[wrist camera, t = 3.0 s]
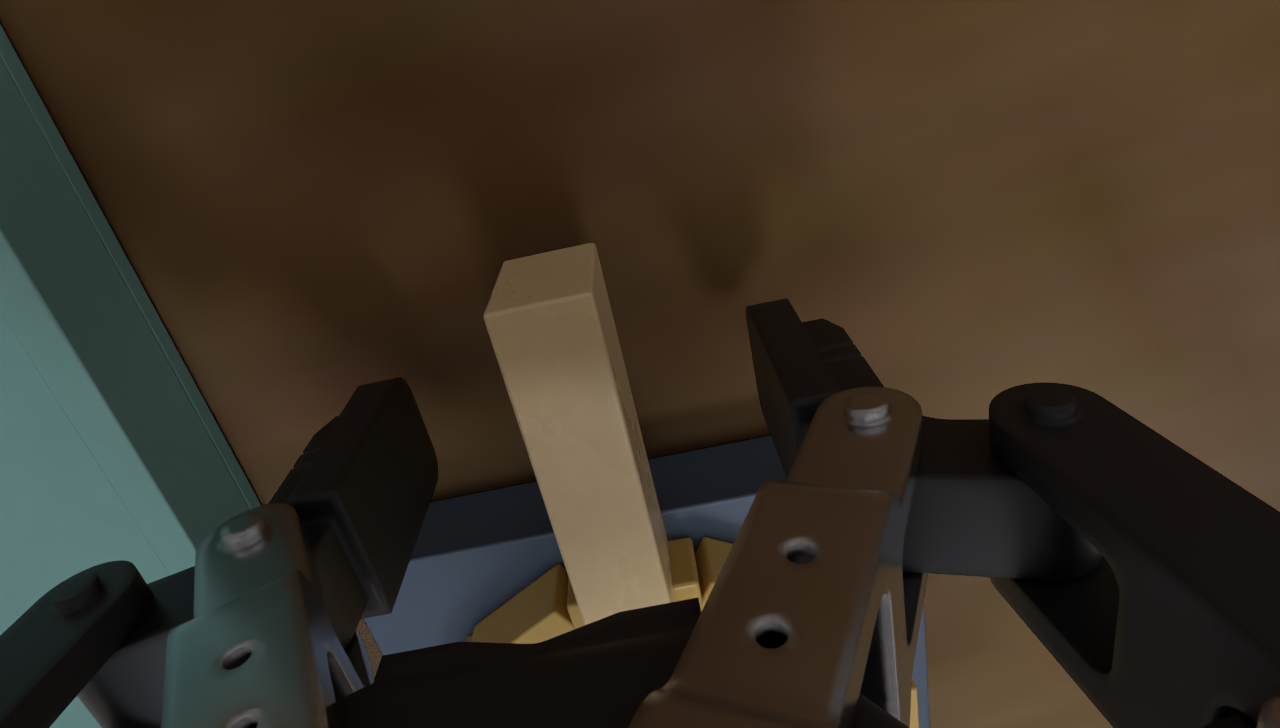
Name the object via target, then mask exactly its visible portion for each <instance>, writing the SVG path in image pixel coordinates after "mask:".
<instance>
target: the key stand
mask: <svg viewBox="0 0 1280 728" xmlns="http://www.w3.org/2000/svg"><path fill="white" fill-rule="evenodd" d="M648 462H649V466H650V470H651V475H652V479H653V483H654V487H655V491H656V495H657V499H658V503H659V507H660V511H661V516H662V520H663V524H664V528H665V532H666V536H667V540H668V541H669V540H674V539H680V538H685V537H690V538H691V540H692V541H693V545H694V550H695V553H696V551H697V549H698V547H699V544H700V542H701V540H702V538H703V537H708V538H712V539H717V540H721V541H725V542H729V543H733V544H734V541H735V539H736V537H737V535H738V533H739V531H740V529H741V526H742V524H743V522H744V520H745V518H746V516H747V514H748V511H749V509H750V507H751V505H752V503H753V501H754V499H755V496H756V494H757V492H758V490H759V488H760V486H761V485H762V484H763V482H764V481H766V480H777V481H787V478H786V476H785V473H784V470H783V468H782V465H781V462H780V459H779V457H778V454H777V451H776V448H775V446H774V443H773V440H772V438H771V436H766V437H761V438H756V439H751V440H746V441H741V442H736V443H731V444H726V445H720V446H715V447H710V448H705V449H700V450H695V451H690V452H685V453H680V454H675V455H670V456H664V457H659V458H654V459H649V460H648ZM557 564H560V565H561V566H563V567H564V568H565V565H564V561H563V558H562V555H561V552H560V549H559V546H558V543H557V540H556V537H555V534H554V531H553V528H552V525H551V522H550V519H549V516H548V513H547V510H546V507H545V504H544V501H543V498H542V495H541V492H540V489H539V486H538V482H532V483H527V484H522V485H517V486H512V487H506V488H501V489H496V490H491V491H486V492H481V493H476V494H471V495H466V496H461V497H455V498H450V499H445V500H440V501H435V502H430V504H429V507H428V510H427V513H426V516H425V519H424V521H423V524H422V527H421V530H420V533H419V536H418V539H417V541H416V544H415V547H414V550H413V553H412V556H411V559H410V562H409V564H408V567H407V570H406V573H405V576H404V579H403V582H402V584H401V587H400V590H399V593H398V596H397V599H396V602H395V605H394V607H393V610H392V613H391V614H385V615H380V616H375V617H369V618H364V620H365V622H366V624H367V626H368V628H369V630H370V632H371V634H372V636H373V638H374V640H375V642H376V644H377V646H378V648H379V650H380V652H381V654H382V656H383V655H388V654H394V653H399V652H405V651H410V650H416V649H421V648H427V647H432V646H437V645H443V644H448V643H454V642H466V639H467V637H468V636H469V635H472V634H473V629H474V627H475V625H477V624H478V623H479V622H481V621H482V620H483V619H485V618H486V617H487V616H489V615H490V614H491V613H493V612H494V611H495V610H497V609H498V608H499V607H501V606H502V605H503V604H505V603H506V602H507V601H509V600H510V599H511V598H513V597H514V596H515V595H517V594H518V593H519V592H521V591H522V590H523V589H525V588H526V587H527V586H529V585H530V584H531V583H533V582H534V581H535V580H537V579H538V578H539V577H541V576H542V575H543V574H545V573H546V572H547V571H549V570H550V569H551V568H553V567H554V566H555V565H557ZM565 569H566V568H565ZM912 679H913V681H914V683H915V685H916V688H917V698H918V715H919V728H930V720H929V700H928V679H927V658H926V638H925V617H924V603H923V609H922V615H921V621H920V628H919V634H918V640H917V646H916V653H915V659H914V665H913V673H912Z"/></svg>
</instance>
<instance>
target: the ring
mask: <svg viewBox="0 0 1280 728" xmlns="http://www.w3.org/2000/svg"><path fill="white" fill-rule="evenodd" d="M483 318H484V321H485V325H486V328H487V331H488V334H489V337H490V340H491V343H492V346H493V349H494V352H495V355H496V358H497V361H498V364H499V367H500V370H501V373H502V376H503V379H504V382H505V385H506V388H507V391H508V394H509V397H510V400H511V404H512V407H513V410H514V413H515V416H516V419H517V422H518V425H519V428H520V431H521V434H522V437H523V440H524V443H525V446H526V449H527V452H528V455H529V458H530V461H531V464H532V467H533V470H534V473H535V476H536V479H537V482H538V486H539V489H540V492H541V495H542V498H543V501H544V504H545V507H546V510H547V513H548V516H549V519H550V522H551V525H552V528H553V531H554V534H555V537H556V540H557V543H558V546H559V549H560V552H561V555H562V558H563V561H564V565H565V568H566V569H565V568H564V567H563V566H561V565H560V564H557V565H555V566H554V567H553V568H551V569H550V570H549V571H547V572H546V573H545V574H543V575H542V576H541V577H539V578H538V579H537V580H535V581H534V582H533V583H531V584H530V585H529V586H527V587H526V588H525V589H523V590H522V591H521V592H519V593H518V594H517V595H515V596H514V597H513V598H511V599H510V600H509V601H507V602H506V603H505V604H503V605H502V606H501V607H499V608H498V609H497V610H495V611H494V612H493V613H491V614H490V615H489V616H487V617H486V618H485V619H483V620H482V621H481V622H479V623H478V624H477V625H475V627H474V629H473V634H472V635H469V636H468V637H467V639H466V642H486V643H516V644H535V643H540V642H543V641H546V640H549V639H551V638H554V637H556V636H559V635H561V634H564V633H567V632H569V631H572V630H574V629H577V628H579V627H582V626H585V625H587V624H590V623H592V622H595V621H598V620H600V619H603V618H605V617H608V616H610V615H613V614H616V613H618V612H622V611H628V610H633V609H639V608H644V607H649V606H655V605H660V604H666V603H671V602H677V601H682V600H688V599H693V598H698V599H699V603H700V607H701V612H702V610H703V608H704V606H705V604H706V601H707V599H708V597H709V595H710V593H711V591H712V589H713V586H714V584H715V582H716V580H717V578H718V576H719V574H720V571H721V569H722V567H723V565H724V563H725V561H726V559H727V556H728V554H729V552H730V550H731V548H732V546H733V543H729V542H725V541H721V540H717V539H712V538H708V537H703V538H702V540H701V542H700V544H699V547H698V549H697V551H696V553H695V550H694V545H693V541H692V540H691V538H690V537H685V538H680V539H674V540H669V541H668V540H667V536H666V532H665V528H664V524H663V520H662V516H661V511H660V507H659V503H658V499H657V495H656V491H655V487H654V483H653V479H652V475H651V470H650V466H649V462H648V458H647V454H646V450H645V446H644V442H643V438H642V433H641V429H640V425H639V421H638V417H637V413H636V409H635V405H634V401H633V397H632V392H631V388H630V384H629V380H628V376H627V372H626V368H625V364H624V360H623V355H622V351H621V347H620V343H619V339H618V335H617V331H616V327H615V323H614V319H613V314H612V310H611V306H610V302H609V298H608V294H607V290H606V286H605V282H604V278H603V273H602V269H601V265H600V261H599V257H598V253H597V249H596V245H595V244H594V243H587V244H582V245H578V246H573V247H568V248H564V249H559V250H554V251H550V252H545V253H540V254H536V255H531V256H526V257H522V258H517V259H512V260H508V261H505V262H504V263H503V265H502V268H501V271H500V273H499V276H498V278H497V281H496V284H495V286H494V289H493V291H492V294H491V297H490V299H489V302H488V305H487V307H486V310H485V312H484V317H483ZM909 728H919V715H918V698H917V688H916V685H915V683H914V681H913V679H912V684H911V712H910V727H909Z"/></svg>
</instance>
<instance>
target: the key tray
mask: <svg viewBox="0 0 1280 728" xmlns="http://www.w3.org/2000/svg"><path fill="white" fill-rule="evenodd" d="M258 506H261V504H260V502H259V500H258V498H257V497H256V495H255V493H254V491H253V489H252V487H251V486H250V484H249V482H248V480H247V478H246V476H245V474H244V473H243V471H242V469H241V467H240V465H239V463H238V462H237V460H236V458H235V456H234V454H233V452H232V450H231V449H230V447H229V445H228V443H227V441H226V439H225V438H224V436H223V434H222V432H221V430H220V428H219V427H218V425H217V423H216V421H215V419H214V417H213V415H212V414H211V412H210V410H209V408H208V406H207V404H206V403H205V401H204V399H203V397H202V395H201V393H200V391H199V390H198V388H197V386H196V384H195V382H194V380H193V379H192V377H191V375H190V373H189V371H188V369H187V367H186V366H185V364H184V362H183V360H182V358H181V356H180V355H179V353H178V351H177V349H176V347H175V345H174V344H173V342H172V340H171V338H170V336H169V334H168V332H167V331H166V329H165V327H164V325H163V323H162V321H161V320H160V318H159V316H158V314H157V312H156V310H155V308H154V307H153V305H152V303H151V301H150V299H149V297H148V296H147V294H146V292H145V290H144V288H143V286H142V284H141V283H140V281H139V279H138V277H137V275H136V273H135V272H134V270H133V268H132V266H131V264H130V262H129V260H128V259H127V257H126V255H125V253H124V251H123V249H122V248H121V246H120V244H119V242H118V240H117V238H116V237H115V235H114V233H113V231H112V229H111V227H110V225H109V224H108V222H107V220H106V218H105V216H104V214H103V213H102V211H101V209H100V207H99V205H98V203H97V201H96V200H95V198H94V196H93V194H92V192H91V190H90V189H89V187H88V185H87V183H86V181H85V179H84V177H83V176H82V174H81V172H80V170H79V168H78V166H77V165H76V163H75V161H74V159H73V157H72V155H71V154H70V152H69V150H68V148H67V146H66V144H65V142H64V141H63V139H62V137H61V135H60V133H59V131H58V130H57V128H56V126H55V124H54V122H53V120H52V118H51V117H50V115H49V113H48V111H47V109H46V107H45V106H44V104H43V102H42V100H41V98H40V96H39V94H38V93H37V91H36V89H35V87H34V85H33V83H32V82H31V80H30V78H29V76H28V74H27V72H26V71H25V69H24V67H23V65H22V63H21V61H20V59H19V58H18V56H17V54H16V52H15V50H14V48H13V47H12V45H11V43H10V41H9V39H8V37H7V35H6V34H5V32H4V30H3V28H2V26H1V24H0V635H1V634H2V633H3V632H5V631H6V630H7V629H8V628H9V627H10V626H11V625H12V624H13V623H14V622H15V621H16V620H17V619H18V618H19V617H20V616H22V615H23V614H24V613H25V612H26V611H27V610H28V609H29V608H30V607H31V606H32V605H33V604H34V603H35V602H36V601H37V600H39V599H40V598H41V597H42V596H43V595H44V594H46V593H47V592H48V591H50V590H51V589H52V588H54V587H55V586H57V585H58V584H60V583H61V582H63V581H65V580H66V579H68V578H70V577H71V576H73V575H75V574H77V573H79V572H81V571H84V570H86V569H88V568H91V567H93V566H96V565H99V564H102V563H106V562H111V561H119V560H124V561H129V562H131V563H133V564H134V565H135V567H136V568H137V570H138V571H139V573H140V574H141V576H142V577H143V579H144V580H145V582H146V583H147V584H149V583H151V582H154V581H157V580H159V579H162V578H164V577H167V576H170V575H172V574H175V573H177V572H180V571H183V570H185V569H188V568H190V567H193V566H195V554H196V551H197V549H198V547H199V545H200V544H201V542H202V541H203V540H204V539H205V538H206V536H207V535H209V534H210V533H211V532H212V531H213V530H214V529H216V528H217V527H218V526H219V525H221V524H222V523H224V522H225V521H227V520H229V519H230V518H232V517H234V516H236V515H238V514H240V513H242V512H244V511H247V510H249V509H252V508H255V507H258ZM49 728H102V727H101V726H100V725H99V723H98V722H97V721H96V719H95V718H94V717H93V716H92V714H91V713H90V712H89V711H88V709H87V708H86V707H85V706H84V704H83V703H82V702H81V700H80V699H79V698H78V697H77V696H76V697H75V699H74V700H73V701H72V702H71V703H70V704H69V705H68V707H67V708H66V709H65V710H64V711H63V712H62V714H61V715H60V716H59V717H58V718H57V719H56V720H55V722H54V723H53V724H52V725H51V726H50V727H49Z"/></svg>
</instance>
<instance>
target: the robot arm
mask: <svg viewBox="0 0 1280 728" xmlns="http://www.w3.org/2000/svg"><path fill="white" fill-rule="evenodd" d="M746 319H747V326H748V332H749V338H750V345H751V351H752V358H753V364H754V371H755V377H756V383H757V389H758V394H759V399H760V404H761V408H762V412H763V415H764V418H765V421H766V424H767V427H768V429H769V432H770V435H771V438H772V440H773V443H774V446H775V448H776V451H777V454H778V457H779V459H780V462H781V465H782V468H783V470H784V473H785V476H786V478H787V481H777V480H766V481H764V482H763V484H762V485H761V486H760V488H759V490H758V492H757V494H756V496H755V499H754V501H753V503H752V505H751V507H750V509H749V511H748V514H747V516H746V518H745V520H744V522H743V524H742V526H741V529H740V531H739V533H738V535H737V537H736V539H735V541H734V544H733V546H732V548H731V550H730V552H729V554H728V556H727V559H726V561H725V563H724V565H723V567H722V569H721V571H720V574H719V576H718V578H717V580H716V582H715V584H714V586H713V589H712V591H711V593H710V595H709V597H708V599H707V601H706V604H705V606H704V608H703V610H702V612H701V607H700V603H699V599H698V598H693V599H688V600H682V601H677V602H671V603H666V604H660V605H655V606H649V607H644V608H639V609H633V610H628V611H622V612H618V613H616V614H613V615H610V616H608V617H605V618H603V619H600V620H598V621H595V622H592V623H590V624H587V625H585V626H582V627H579V628H577V629H574V630H572V631H569V632H567V633H564V634H561V635H559V636H556V637H554V638H551V639H549V640H546V641H543V642H540V643H535V644H516V643H486V642H454V643H448V644H443V645H437V646H432V647H427V648H421V649H416V650H410V651H405V652H399V653H394V654H388V655H383V656H382V659H381V662H380V665H379V667H378V670H377V673H376V676H375V679H374V676H373V672H372V669H371V665H370V662H369V658H368V655H367V651H366V647H365V645H364V643H363V641H362V639H361V637H360V635H359V633H358V631H357V629H356V628H357V626H358V623H359V621H360V619H364V618H369V617H375V616H380V615H385V614H391V613H392V610H393V607H394V605H395V602H396V599H397V596H398V593H399V590H400V587H401V584H402V582H403V579H404V576H405V573H406V570H407V567H408V564H409V562H410V559H411V556H412V553H413V550H414V547H415V544H416V541H417V539H418V536H419V533H420V530H421V527H422V524H423V521H424V519H425V516H426V513H427V510H428V507H429V504H430V501H431V499H432V496H433V493H434V490H435V487H436V484H437V480H438V463H437V458H436V453H435V450H434V447H433V445H432V442H431V440H430V437H429V434H428V432H427V429H426V427H425V424H424V422H423V419H422V417H421V414H420V412H419V409H418V407H417V404H416V401H415V399H414V396H413V394H412V391H411V389H410V387H409V385H408V384H407V382H406V381H405V380H404V379H403V378H401V377H398V378H393V379H388V380H384V381H379V382H374V383H369V384H364V385H360V386H358V388H357V389H356V390H355V392H354V394H353V395H352V397H351V398H350V400H349V402H348V403H347V405H346V406H345V408H344V409H343V411H342V413H341V414H340V416H337V417H335V418H334V419H333V420H331V421H330V422H329V423H328V424H327V425H325V426H324V427H323V428H322V429H321V430H319V431H318V432H317V433H316V434H315V435H314V436H313V438H312V439H311V441H310V442H309V444H308V445H307V447H306V448H305V450H304V451H303V453H304V455H301V456H300V457H299V459H298V460H297V462H296V463H295V465H294V469H292V470H291V471H290V472H289V474H288V475H287V477H286V478H285V480H284V481H283V483H282V484H281V486H280V487H279V489H278V490H277V492H276V493H275V495H274V496H273V498H272V499H271V501H270V502H269V504H266V505H261V506H258V507H255V508H252V509H249V510H247V511H244V512H242V513H240V514H238V515H236V516H234V517H232V518H230V519H229V520H227V521H225V522H224V523H222V524H221V525H219V526H218V527H217V528H216V529H214V530H213V531H212V532H211V533H210V534H209V535H207V536H206V538H205V539H204V540H203V541H202V542H201V544H200V545H199V547H198V549H197V551H196V554H195V566H193V567H190V568H188V569H185V570H183V571H180V572H177V573H175V574H172V575H170V576H167V577H164V578H162V579H159V580H157V581H154V582H151V583H149V584H147V583H146V582H145V580H144V579H143V577H142V576H141V574H140V573H139V571H138V570H137V568H136V567H135V565H134V564H133V563H131V562H129V561H124V560H119V561H111V562H106V563H102V564H99V565H96V566H93V567H91V568H88V569H86V570H84V571H81V572H79V573H77V574H75V575H73V576H71V577H70V578H68V579H66V580H65V581H63V582H61V583H60V584H58V585H57V586H55V587H54V588H52V589H51V590H50V591H48V592H47V593H46V594H44V595H43V596H42V597H41V598H40V599H39V600H37V601H36V602H35V603H34V604H33V605H32V606H31V607H30V608H29V609H28V610H27V611H26V612H25V613H24V614H23V615H22V616H20V617H19V618H18V619H17V620H16V621H15V622H14V623H13V624H12V625H11V626H10V627H9V628H8V629H7V630H6V631H5V632H3V633H2V634H1V635H0V728H49V727H50V726H51V725H52V724H53V723H54V722H55V720H56V719H57V718H58V717H59V716H60V715H61V714H62V712H63V711H64V710H65V709H66V708H67V707H68V705H69V704H70V703H71V702H72V701H73V700H74V699H75V697H76V696H77V697H78V698H79V699H80V700H81V702H82V703H83V704H84V706H85V707H86V708H87V709H88V711H89V712H90V713H91V714H92V716H93V717H94V718H95V719H96V721H97V722H98V723H99V725H100V726H101V727H102V728H909V727H910V712H911V684H912V673H913V665H914V659H915V653H916V646H917V640H918V634H919V628H920V621H921V615H922V609H923V603H924V596H925V590H926V584H927V578H928V573H934V574H950V575H967V576H983V577H990V579H991V582H992V584H993V585H994V586H995V588H996V589H997V590H998V591H999V593H1000V594H1001V595H1002V596H1003V597H1004V599H1005V600H1006V601H1007V602H1008V603H1009V605H1010V606H1011V607H1012V608H1013V609H1014V610H1015V612H1016V613H1017V614H1018V615H1019V616H1020V618H1021V619H1022V620H1023V621H1024V622H1025V623H1026V625H1027V626H1028V627H1029V628H1030V629H1031V631H1032V632H1033V633H1034V634H1035V635H1036V636H1037V638H1038V639H1039V640H1040V641H1041V642H1042V644H1043V645H1044V646H1045V647H1046V648H1047V649H1048V651H1049V652H1050V653H1051V654H1052V655H1053V657H1054V658H1055V659H1056V660H1057V661H1058V662H1059V664H1060V665H1061V666H1062V667H1063V668H1064V670H1065V671H1066V672H1067V673H1068V674H1069V675H1070V677H1071V678H1072V679H1073V680H1074V681H1075V683H1076V684H1077V685H1078V686H1079V687H1080V689H1081V690H1082V691H1083V692H1084V693H1085V694H1086V696H1087V697H1088V698H1089V699H1090V700H1091V702H1092V703H1093V704H1094V705H1095V706H1096V707H1097V709H1098V710H1099V711H1100V712H1101V713H1102V715H1103V716H1104V717H1105V718H1106V719H1107V720H1108V722H1109V723H1110V724H1111V725H1112V726H1113V728H1280V512H1279V511H1277V510H1276V509H1274V508H1273V507H1271V506H1270V505H1268V504H1266V503H1265V502H1263V501H1262V500H1260V499H1259V498H1257V497H1256V496H1254V495H1253V494H1251V493H1249V492H1248V491H1246V490H1245V489H1243V488H1242V487H1240V486H1239V485H1237V484H1236V483H1234V482H1232V481H1231V480H1229V479H1228V478H1226V477H1225V476H1223V475H1222V474H1220V473H1219V472H1217V471H1215V470H1214V469H1212V468H1211V467H1209V466H1208V465H1206V464H1205V463H1203V462H1202V461H1200V460H1198V459H1197V458H1195V457H1194V456H1192V455H1191V454H1189V453H1188V452H1186V451H1185V450H1183V449H1181V448H1180V447H1178V446H1177V445H1175V444H1174V443H1172V442H1171V441H1169V440H1168V439H1166V438H1164V437H1163V436H1161V435H1160V434H1158V433H1157V432H1155V431H1154V430H1152V429H1151V428H1149V427H1147V426H1146V425H1144V424H1143V423H1141V422H1140V421H1138V420H1137V419H1135V418H1134V417H1132V416H1130V415H1129V414H1127V413H1126V412H1124V411H1123V410H1121V409H1120V408H1118V407H1117V406H1115V405H1113V404H1112V403H1110V402H1109V401H1107V400H1106V399H1104V398H1103V397H1101V396H1099V395H1097V394H1096V393H1094V392H1091V391H1089V390H1086V389H1083V388H1080V387H1076V386H1072V385H1067V384H1059V383H1031V384H1024V385H1019V386H1015V387H1012V388H1009V389H1007V390H1005V391H1003V392H1001V393H999V394H998V395H996V396H995V397H994V398H993V400H992V401H991V403H990V405H989V420H947V419H936V418H931V417H925V416H922V410H921V407H920V405H919V403H918V402H917V401H916V400H915V399H914V398H913V397H911V396H910V395H908V394H906V393H904V392H901V391H899V390H895V389H891V388H885V387H884V386H883V385H882V383H881V382H880V380H879V379H878V377H877V376H876V375H875V373H874V372H873V370H872V369H871V367H870V366H869V365H868V363H867V362H866V360H865V359H864V357H863V356H862V357H861V353H860V352H859V350H858V349H857V347H856V346H855V345H853V342H852V340H851V339H850V337H849V336H848V335H847V333H846V332H845V330H844V329H843V328H842V327H840V326H837V325H835V324H833V323H831V322H829V321H827V320H825V319H823V318H822V319H817V320H812V321H807V322H803V323H802V322H801V321H800V319H799V317H798V316H797V314H796V312H795V310H794V309H793V307H792V305H791V304H790V302H789V300H788V299H787V298H786V299H781V300H776V301H771V302H766V303H761V304H756V305H752V306H747V307H746Z"/></svg>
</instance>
